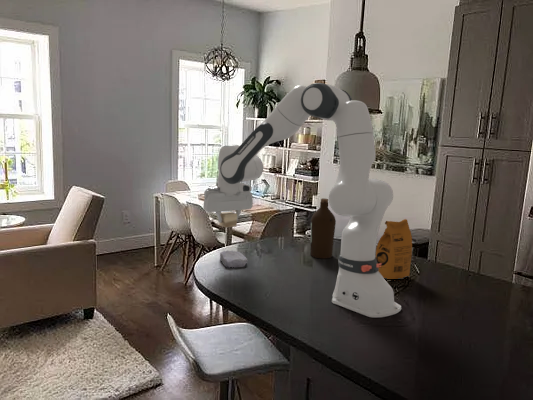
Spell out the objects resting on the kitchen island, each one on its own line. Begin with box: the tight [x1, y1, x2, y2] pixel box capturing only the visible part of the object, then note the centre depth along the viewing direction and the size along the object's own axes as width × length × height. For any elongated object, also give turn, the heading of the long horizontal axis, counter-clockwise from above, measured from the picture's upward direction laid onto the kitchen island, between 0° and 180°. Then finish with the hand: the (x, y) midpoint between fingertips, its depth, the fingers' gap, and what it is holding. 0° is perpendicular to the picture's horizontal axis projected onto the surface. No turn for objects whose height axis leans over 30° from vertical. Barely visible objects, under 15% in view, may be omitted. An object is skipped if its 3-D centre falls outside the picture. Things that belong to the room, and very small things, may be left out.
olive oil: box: [309, 198, 337, 260], centre depth 188 cm, size 11×11×25 cm
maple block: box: [218, 211, 238, 228], centre depth 172 cm, size 5×5×5 cm
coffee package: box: [375, 218, 413, 279], centre depth 164 cm, size 10×12×22 cm
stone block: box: [219, 250, 248, 269], centre depth 175 cm, size 12×5×10 cm
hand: (228, 221), depth 172 cm, fingers closed on maple block, 5 cm apart
